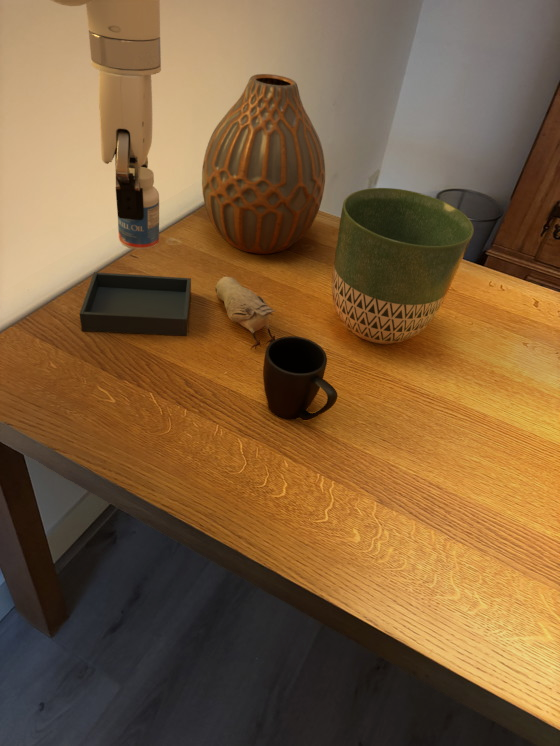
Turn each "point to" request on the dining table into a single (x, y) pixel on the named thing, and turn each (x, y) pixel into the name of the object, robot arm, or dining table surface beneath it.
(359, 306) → the planter
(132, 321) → the tray
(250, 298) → the decorative bird
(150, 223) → the pill bottle
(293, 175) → the vase
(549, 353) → the dining table surface
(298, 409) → the mug
